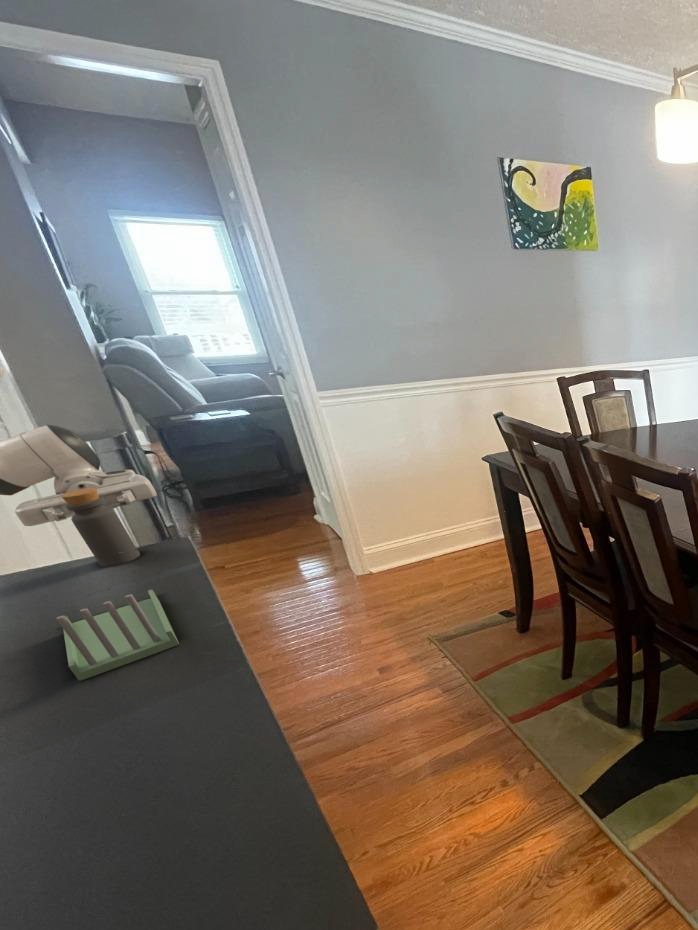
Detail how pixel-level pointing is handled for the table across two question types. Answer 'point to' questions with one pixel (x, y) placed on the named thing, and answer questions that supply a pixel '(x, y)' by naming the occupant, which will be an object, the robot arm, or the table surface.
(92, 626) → the drying rack
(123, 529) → the bottle
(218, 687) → the table surface
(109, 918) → the table surface
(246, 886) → the table surface
